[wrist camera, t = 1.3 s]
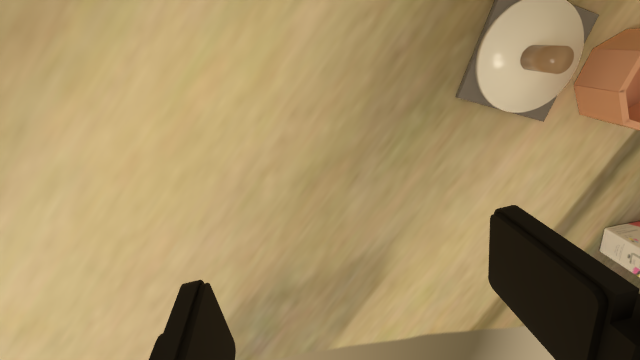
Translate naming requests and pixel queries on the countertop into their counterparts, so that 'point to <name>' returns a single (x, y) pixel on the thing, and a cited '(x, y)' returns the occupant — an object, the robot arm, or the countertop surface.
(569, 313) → the robot arm
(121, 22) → the countertop surface
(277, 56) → the countertop surface
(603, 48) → the bowl
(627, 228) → the ink cartridge box
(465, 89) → the mat
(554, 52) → the lid
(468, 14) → the countertop surface
